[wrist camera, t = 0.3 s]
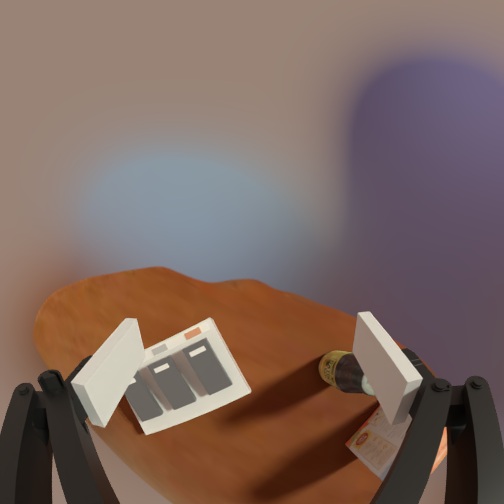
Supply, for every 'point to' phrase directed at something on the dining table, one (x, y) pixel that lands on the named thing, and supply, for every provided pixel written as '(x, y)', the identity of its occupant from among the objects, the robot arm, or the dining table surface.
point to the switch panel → (190, 377)
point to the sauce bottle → (344, 373)
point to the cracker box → (384, 443)
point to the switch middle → (172, 382)
